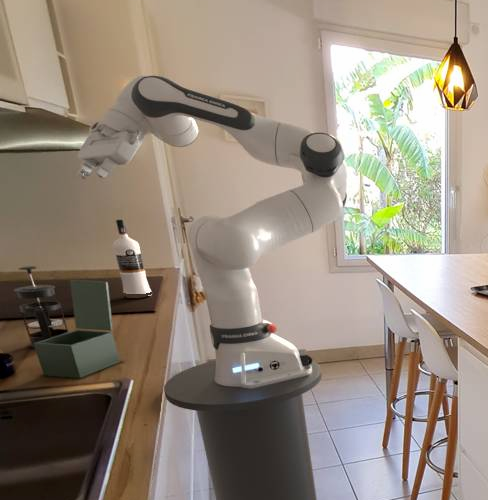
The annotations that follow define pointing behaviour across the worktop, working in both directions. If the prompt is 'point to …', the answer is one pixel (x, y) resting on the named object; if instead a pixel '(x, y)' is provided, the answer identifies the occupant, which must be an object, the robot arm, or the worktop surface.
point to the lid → (91, 305)
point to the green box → (77, 353)
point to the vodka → (130, 263)
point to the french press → (40, 310)
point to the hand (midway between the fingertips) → (90, 176)
